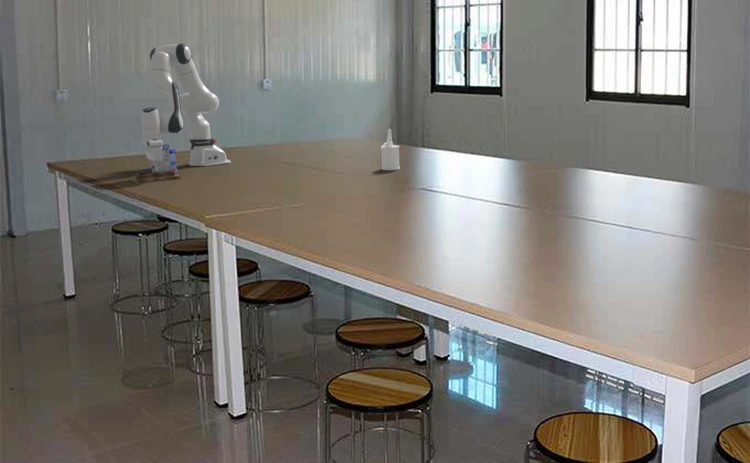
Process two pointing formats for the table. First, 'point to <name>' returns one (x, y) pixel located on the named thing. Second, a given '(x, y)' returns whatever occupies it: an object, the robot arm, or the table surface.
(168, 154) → the ink cartridge box
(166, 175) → the cradle
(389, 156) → the white glue bottle
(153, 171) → the two-tone gray stick
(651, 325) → the table surface
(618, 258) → the table surface
